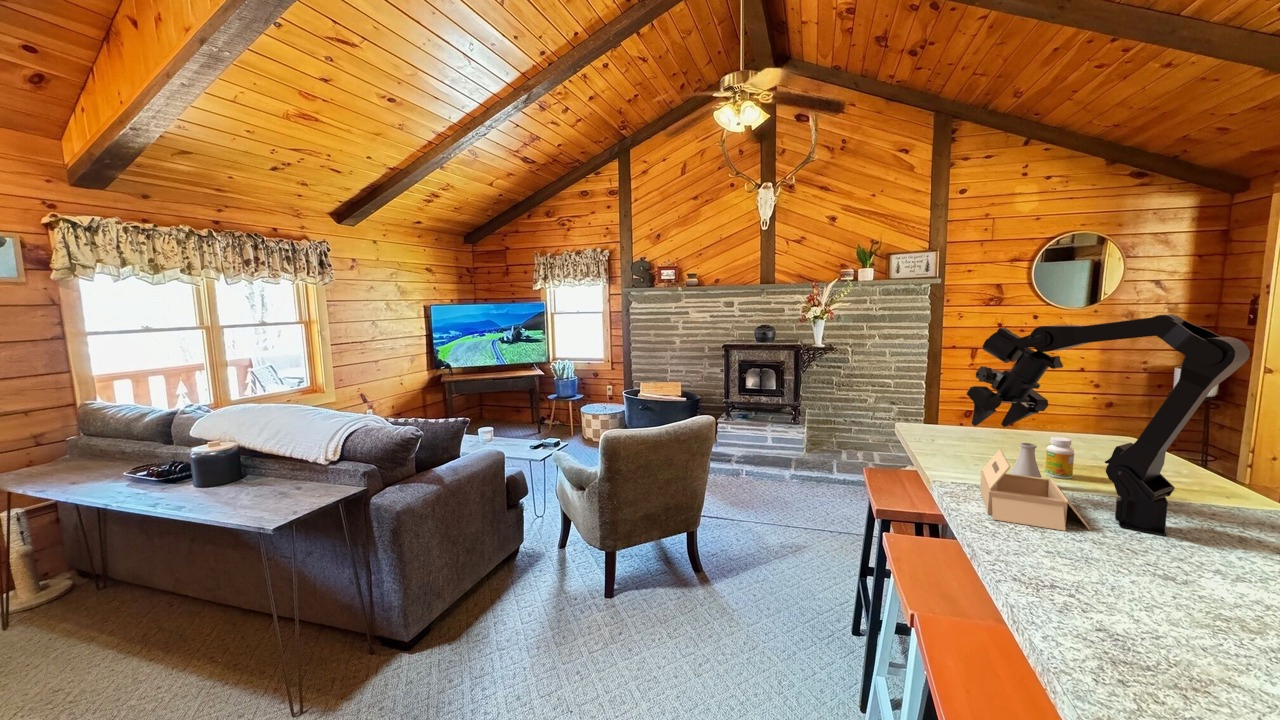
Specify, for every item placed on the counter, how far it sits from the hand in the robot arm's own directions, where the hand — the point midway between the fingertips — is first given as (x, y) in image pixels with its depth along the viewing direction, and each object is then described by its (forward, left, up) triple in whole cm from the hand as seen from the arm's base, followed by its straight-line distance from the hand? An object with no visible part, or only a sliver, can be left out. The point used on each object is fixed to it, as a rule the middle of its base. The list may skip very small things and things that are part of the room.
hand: (988, 425), depth 122 cm
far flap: (-2, +16, -9) cm, 19 cm away
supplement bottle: (-14, -15, -14) cm, 25 cm away
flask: (-8, -3, -14) cm, 17 cm away
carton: (-10, +14, -14) cm, 22 cm away
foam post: (-2, +10, -14) cm, 17 cm away
